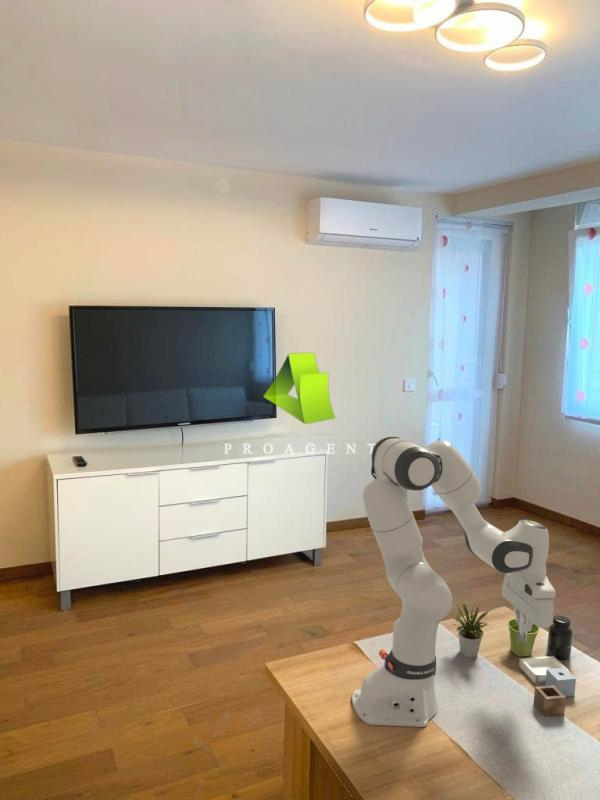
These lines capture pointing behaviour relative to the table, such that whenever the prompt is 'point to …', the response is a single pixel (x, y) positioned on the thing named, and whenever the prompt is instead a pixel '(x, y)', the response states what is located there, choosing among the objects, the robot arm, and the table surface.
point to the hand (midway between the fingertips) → (523, 626)
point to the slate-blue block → (561, 680)
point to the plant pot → (516, 646)
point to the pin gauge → (521, 632)
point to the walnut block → (549, 700)
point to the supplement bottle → (560, 638)
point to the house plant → (470, 631)
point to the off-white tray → (539, 667)
